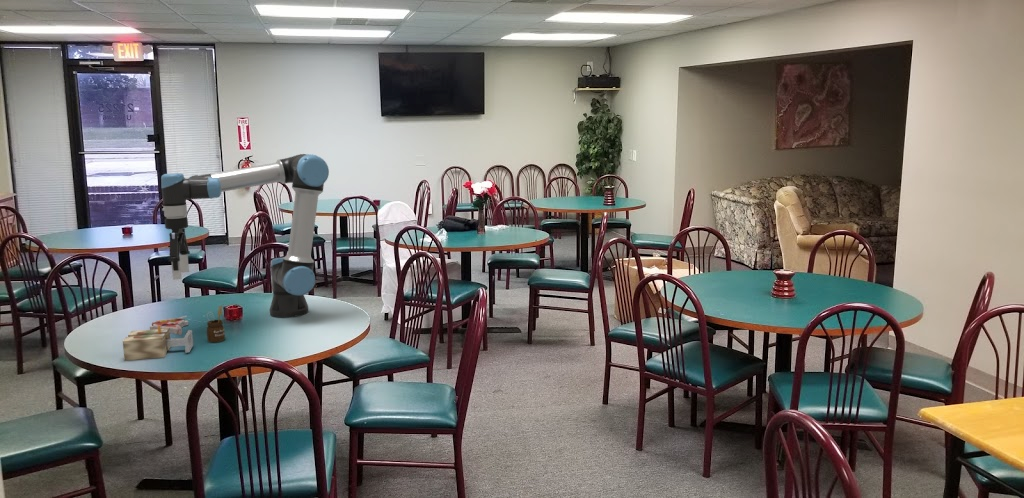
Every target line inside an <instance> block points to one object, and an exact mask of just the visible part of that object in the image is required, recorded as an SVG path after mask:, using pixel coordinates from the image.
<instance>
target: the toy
mask: <svg viewBox="0 0 1024 498" xmlns="http://www.w3.org/2000/svg"><path fill="white" fill-rule="evenodd" d="M186 317H187V318H188V315H183V316H180V317H176V318H164V319H159V320H155V321H153V322H152V323H151V325H149V330H154V329H158V325H161V329H167V328H169V331H170V334H173V335H174V334H175V335H178V336H179V335H180V336H181V334H183V329H182V328H183V327H185V326H189V320H186V319H184V318H186Z"/></svg>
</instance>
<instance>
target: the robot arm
mask: <svg viewBox="0 0 1024 498" xmlns="http://www.w3.org/2000/svg"><path fill="white" fill-rule="evenodd" d="M329 173H330V170H329V166H328V163H327V162H326V161H325V160H324V159H323V158H322V157H320V156H318V155H316V154H308V153H307V154H305V153H302V154H301V153H300V154H296V155H293V156H289V157H287V158H286V157H285V158H282V159H281V158H280V159H277V160H276V162H273V163H267V164H265V163H264V164H260V165H254V166H248V167H242V168H236V169H230V170H225V171H224V170H223V171H219V172H212V173H207V174H201V175H198V174H195V175H191V176H189V177H188V178H185V175H184V173H181V172H177V173H176V172H175V173H164V174H162V175H161V178H160V180H161V181H160V182H161V185H160V186H161V187H160V188H161V194H162V195H161V197H162V207H163V208H161V211H162V212H163V215H164V217H165V219H164V226H165V227H164V228H165V229H166V230H171V232H169V234H168V235H169V257H168V262H169V263H171V271H172V272H171V273H172V280H173V281H175V280H176V281H179V280H182V274H183V273H190V265H189V255H190V254H191V252H190V249H189V246H188V241H187V237H186V231H185V230H186V229H187V228H188V227H189V220H188V217H187V216H188V206H187V200H201V199H202V200H204V199H215V198H216V199H217V198H220V197H221V195H222V192H223V193H224V192H229V191H235V190H240V189H247V188H253V187H259V186H265V185H270V184H275V183H280V184H282V185H283V184H291V188H292V190H293V191H294V194H295V195H294V200H293V201H294V202H293V203H294V204H293V210H292V211H293V212H292V217H291V227H290V234H289V242H288V250H287V255H285V256H284V257H276V258H273V259H271V262H270V263H271V264H270V268H271V282H272V283H271V284H272V300H271V304H270V306H269V307H270V308H269V315H270V316H271V317H275V318H292V317H300V316H303V315H306V314H308V313H309V312H310V311H309V305H308V302H307V300H306V296H305V295H306V294H308V293H310V292H311V291H312V289H314V287H315V284H316V276H315V273H314V265H315V260H314V259H313V258H312V250H313V249H312V248H313V242H314V241H313V239H314V232H315V227H316V219H317V218H316V217H317V209H318V201H319V196H320V194H321V195H322V193H323V192H324V186H325V185H324V184H325V183H326V182H327V181H328V178H329Z"/></svg>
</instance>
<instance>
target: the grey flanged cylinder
mask: <svg viewBox="0 0 1024 498" xmlns="http://www.w3.org/2000/svg"><path fill="white" fill-rule="evenodd" d="M158 334H161V325H158ZM165 341H166V347H170V348H174V347H184V352H185V353H186V354H187V353H190V352H191V350H192V348H193V346H194V338H193V330H192V329H189V330H187V332H186V334H185V335H184V337H180V338H177V337H176V338H170V339H165Z"/></svg>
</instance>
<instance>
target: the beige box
mask: <svg viewBox="0 0 1024 498" xmlns="http://www.w3.org/2000/svg"><path fill="white" fill-rule="evenodd" d="M165 339H171V333H170V331H169V328H167V329H161V334H158V329H154V330H150V329H144V330H131V331H130V332H129V333H128V335H127V336H126V337H125V338H124V339H123V340H122V348H123V350H122V351H123V357H124V358H123V359H124V361H134V360H149V359H157V358H165V357H166V355H167V352H168V351H169V350H170V348H171V347H166V341H165Z"/></svg>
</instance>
